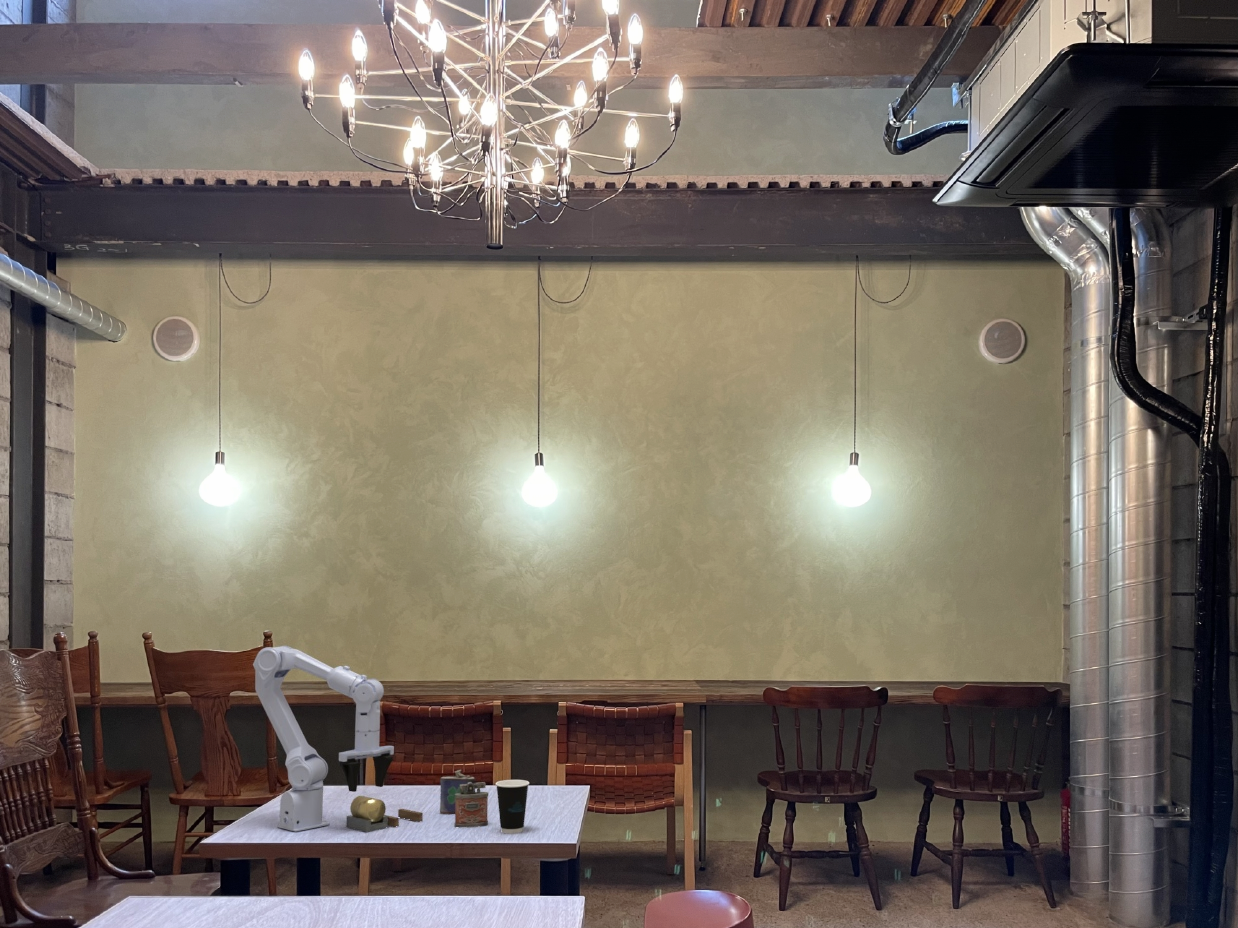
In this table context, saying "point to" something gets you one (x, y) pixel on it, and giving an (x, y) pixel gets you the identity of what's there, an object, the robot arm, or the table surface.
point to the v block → (365, 823)
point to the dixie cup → (512, 804)
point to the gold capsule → (368, 808)
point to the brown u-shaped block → (407, 815)
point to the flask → (452, 791)
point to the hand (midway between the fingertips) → (366, 788)
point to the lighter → (471, 806)
